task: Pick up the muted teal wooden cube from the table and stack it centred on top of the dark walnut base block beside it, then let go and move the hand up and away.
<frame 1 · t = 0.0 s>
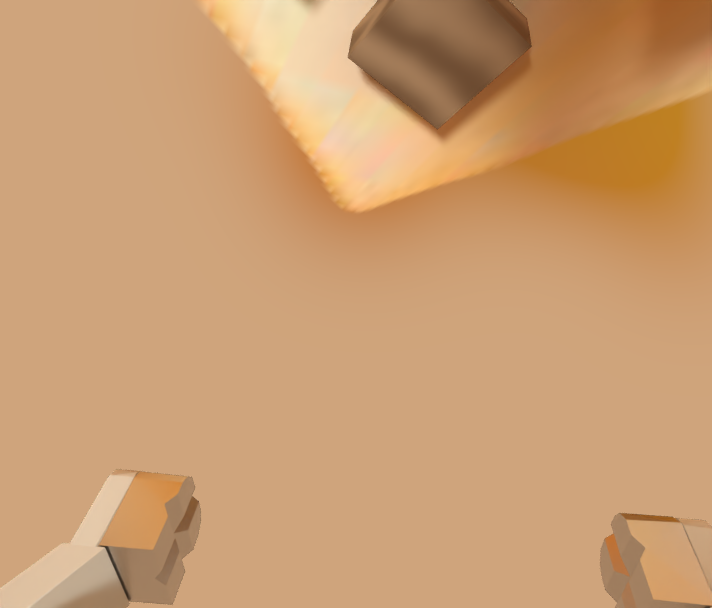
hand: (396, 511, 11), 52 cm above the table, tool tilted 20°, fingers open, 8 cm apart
walnut base: (437, 25, 55), on the table
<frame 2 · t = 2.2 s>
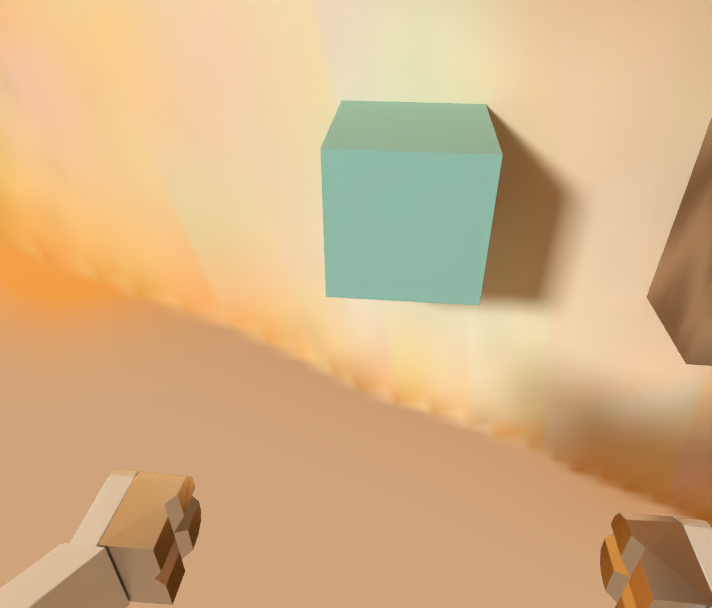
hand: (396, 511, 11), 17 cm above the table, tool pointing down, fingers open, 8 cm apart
teal cube: (409, 170, 25), on the table
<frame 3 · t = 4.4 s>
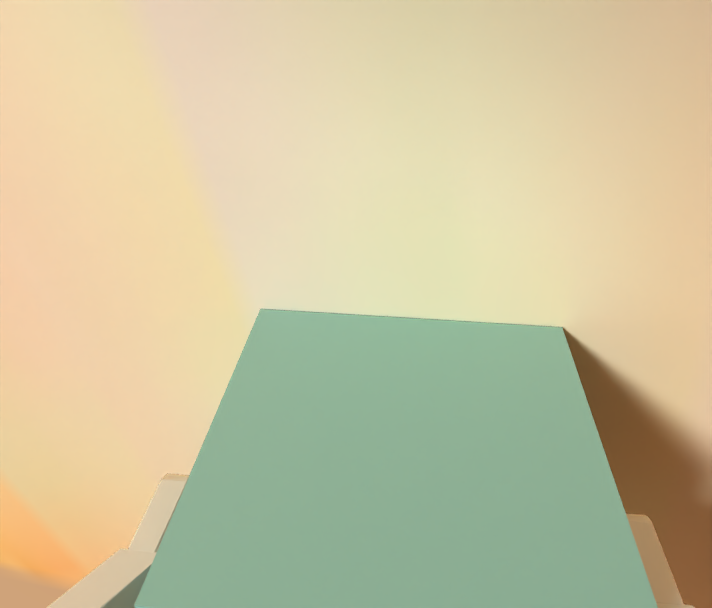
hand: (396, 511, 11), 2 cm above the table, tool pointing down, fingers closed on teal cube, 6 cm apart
teal cube: (400, 423, 13), on the table, touching gripper
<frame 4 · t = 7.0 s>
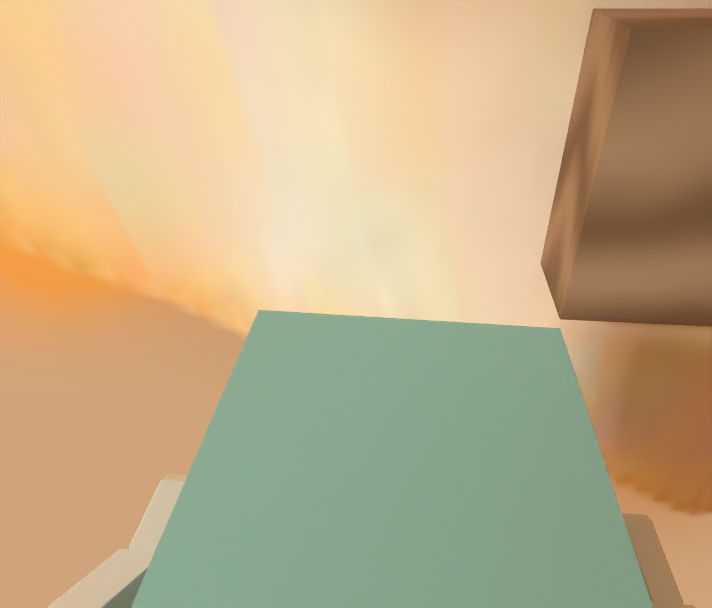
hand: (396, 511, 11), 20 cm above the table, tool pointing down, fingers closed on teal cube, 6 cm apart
teal cube: (399, 424, 13), point 17 cm above the table, touching gripper
walnut base: (697, 155, 25), on the table
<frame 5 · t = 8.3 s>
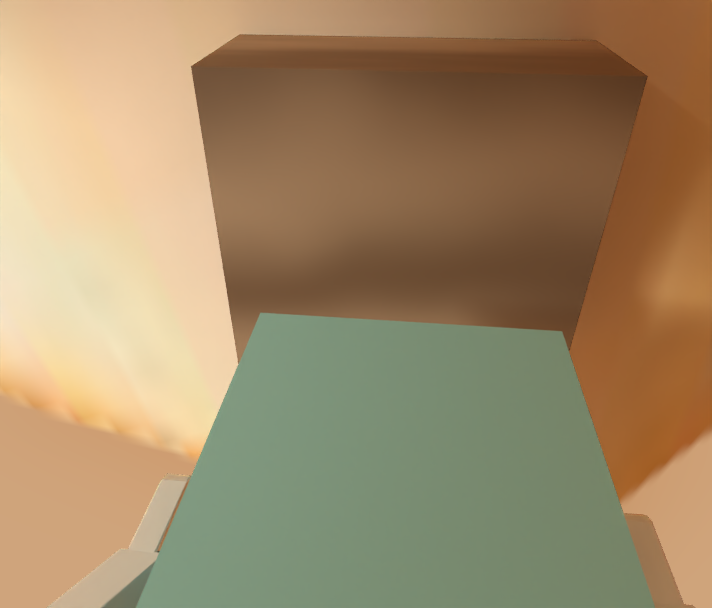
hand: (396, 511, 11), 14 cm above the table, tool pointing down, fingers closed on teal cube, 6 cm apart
teal cube: (400, 426, 13), point 12 cm above the table, touching gripper
walnut base: (404, 201, 22), on the table
when the fingers open (9 cm above the table, at t = 9.6 s): teal cube drops 1 cm, resting on walnut base.
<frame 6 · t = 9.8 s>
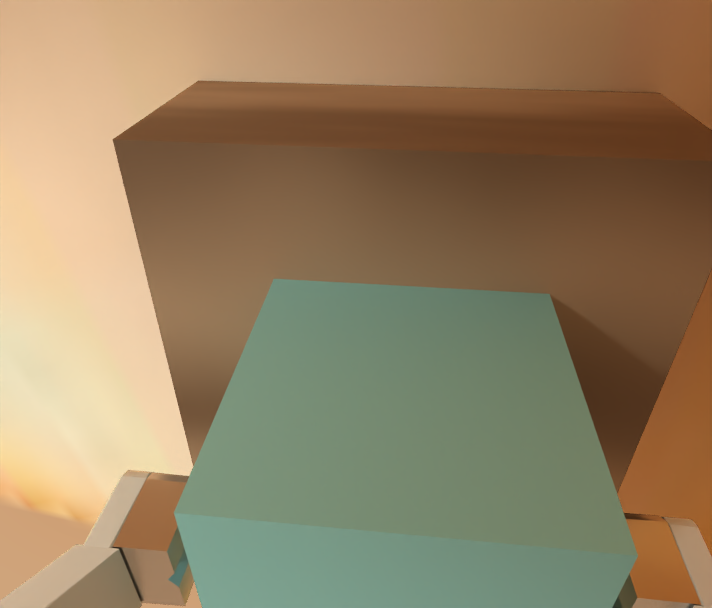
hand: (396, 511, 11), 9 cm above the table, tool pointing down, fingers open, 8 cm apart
teal cube: (402, 387, 14), point 5 cm above the table, touching walnut base
walnut base: (408, 281, 18), on the table
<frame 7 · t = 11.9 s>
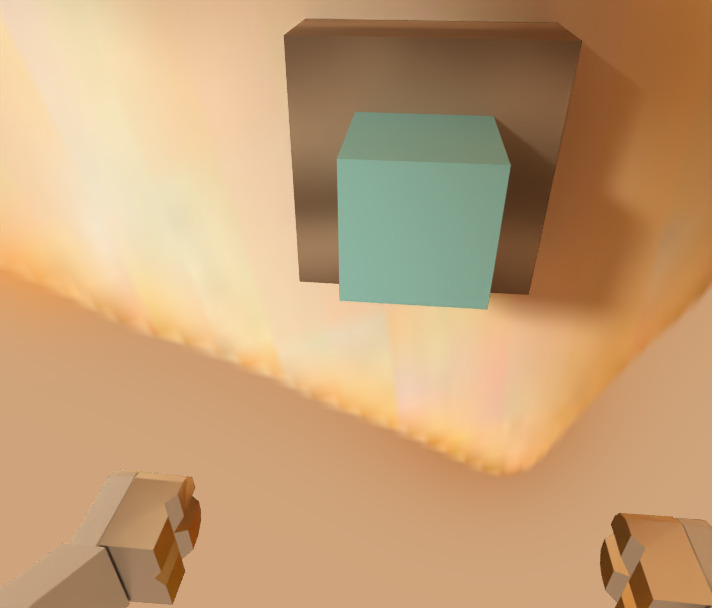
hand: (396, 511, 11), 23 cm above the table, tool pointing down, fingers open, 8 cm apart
teal cube: (419, 179, 26), point 5 cm above the table, touching walnut base
walnut base: (420, 144, 30), on the table
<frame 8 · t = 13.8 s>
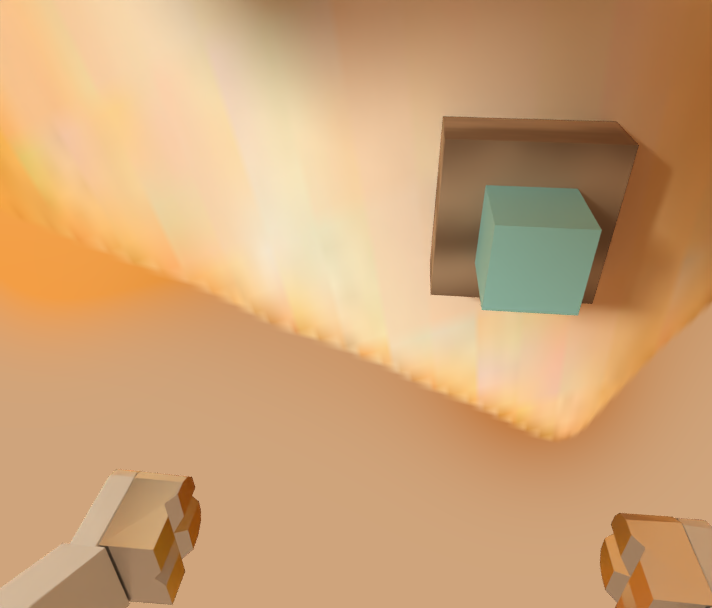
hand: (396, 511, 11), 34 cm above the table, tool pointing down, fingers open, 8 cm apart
teal cube: (523, 227, 39), point 5 cm above the table, touching walnut base
walnut base: (514, 198, 43), on the table
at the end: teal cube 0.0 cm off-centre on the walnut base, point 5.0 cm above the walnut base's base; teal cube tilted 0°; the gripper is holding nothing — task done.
